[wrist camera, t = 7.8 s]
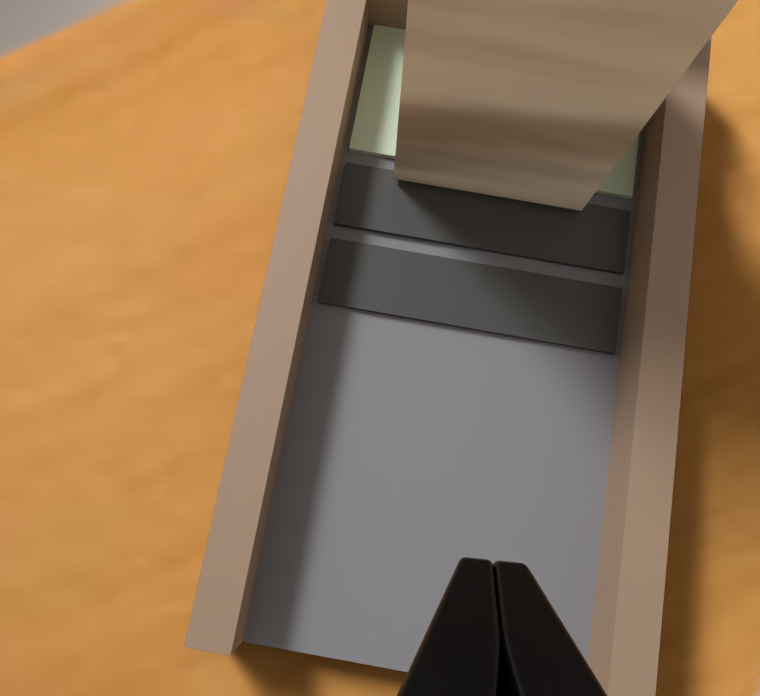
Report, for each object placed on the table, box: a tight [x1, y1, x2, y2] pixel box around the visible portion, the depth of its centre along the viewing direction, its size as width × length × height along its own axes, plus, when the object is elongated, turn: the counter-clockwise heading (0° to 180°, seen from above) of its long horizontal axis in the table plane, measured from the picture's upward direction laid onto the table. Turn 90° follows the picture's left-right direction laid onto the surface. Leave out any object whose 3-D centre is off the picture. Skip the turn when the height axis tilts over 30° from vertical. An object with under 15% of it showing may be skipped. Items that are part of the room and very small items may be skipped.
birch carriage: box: [393, 0, 738, 211], centre depth 17 cm, size 5×6×11 cm
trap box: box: [184, 0, 711, 696], centre depth 20 cm, size 21×12×5 cm, turn 170°
